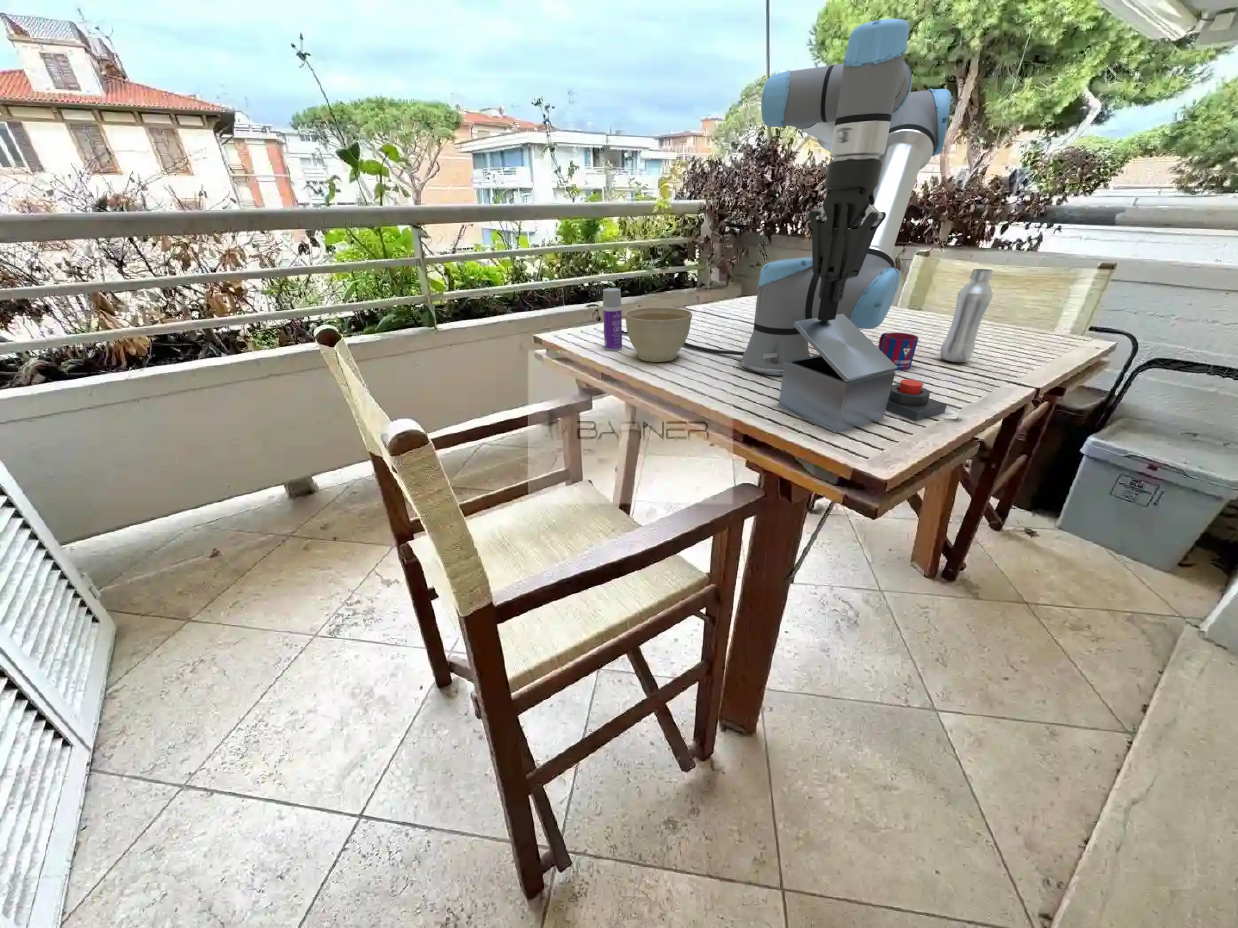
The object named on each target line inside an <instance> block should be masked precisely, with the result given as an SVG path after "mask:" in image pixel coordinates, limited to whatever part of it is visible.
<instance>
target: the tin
mask: <svg viewBox="0 0 1238 928" xmlns="http://www.w3.org/2000/svg"><path fill="white" fill-rule="evenodd" d="M895 376H896V371H892V372H888V373H884V374H880V375H876V376H871V377H867V378H863V379H859V380H855V381H850V382H845V381H844V380H843V379H842V378H841V377H840V376H839V375H838V374H837V373H836V372H835V370H834V369H833V368H832V367H831V366H830V365H829V364H828V363H827V362H826V361H825V360H824V358H823V357H822V356H821V355H820V354H816V355H815V354H814V355H810V357H805V358H800V359H795V360H790V361H785V364H784V371H783V376H781V385H780V392H779V398H778V405H777V406H778V408H780V409H783V410H785V411H787V412H789V413H791V414H793V415H795V416H798V417H800V418H802V419H804V420H806V421H808V422H810V423H812V424H815V425H817V426H819V427H821V428H823V429H825V430H828V431H829V432H831V433H834V434H838V433H841V432H845V431H848V430H852V429H855V428H856V429H857V428H859V427H862V426H866V425H869V424H873V423H875V422H876V423H877V422H879V421H883V420H884V417H885V413H886V411H887V410H886V406H887V402H888V399H889V395H890V391H891V387H892V385H894V379H895Z"/></svg>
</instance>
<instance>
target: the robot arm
mask: <svg viewBox="0 0 1238 928" xmlns="http://www.w3.org/2000/svg"><path fill="white" fill-rule="evenodd" d="M909 32H910V24H909V22H907V21H906V20H905V19H901V18H884V19H883V18H882V19H877V20H872V21H868V22H865V23H862V24H860V25H858V26H856V27H855V28H854V29H853V30H852V31H851V33H850V35H849V36H848V37H849V38H848V42H847V47H846V51H845V56H844V58H843V60H842V63H837V64H831V65H824V66H818V67H810V68H803V69H802V68H801V69H796V70H790V69H788V70H786V71H783V72H779V73H774V74H772V75H770V76H769V77H768V78H767V80H766V81H765V84H764V86H763V90H762V94H761V103H760V109H761V110H760V112H761V119H762V122H763V124H764V125H765V126H766V127H768V128H779V129H781V128H783V127H793V128H796V129H798V130H799V131H801V132H803V133H806V134H807V135H809V136H811V137H813V138H814V139H816V140H817V143H818V144H819V146H820V147H822V149H823V150H826V151H827V152H830V153H829V157H830V158H831V159H833V160H832V161H830V162H829V164H827V169H826V175H825V182H824V189H825V190H826V195H825V197H824V199H823V201H822V205H821V206H820V207H819V208H818V209H817V210H811V211H810V212H809V214H808V218H809V221H810V225H811V243H812V244H811V250H812V251H811V253H812V254H811V255H812V256H804V257H794V258H786V259H779V260H773V261H770V262H767V263H765V264H764V265H763V266H762V267H761V269H760V271H759V272H760V273H759V278H758V283H757V292H756V293H757V294H756V303H755V304H756V305H755V312H754V319H753V320H754V322H753V330H752V334H751V336H750V338H749V340H748V344H747V346H746V349H745V351H739V350H727V349H726V350H723V349H715V348H709V347H706V346H705V347H704V346H700V345H696V344H693V343H688V342H686V341H685V343H684V344H683V346H684V347H687V348H690V349H693V350H698V351H701V352H707V353H713V354H717V355H719V354H721V355H733V356H741V357H742V358H741V366H742V367H743V368H745V370H748V371H750V372H752V373H756V374H760V375H766V376H776V377H778V376H779V377H783V371H784V364H785V361H790V360H795V359H800V358H805V357H810V356H811V355H810V354H809V353H810V351H809V349H810V348H809V342H808V341H807V340H806V339H805V338H804V337H803V336H802V334H801V333H800V332H799V331H798V330H797V329H796V328H795V327H794V326H793V324H794V322H795V321H800V320H806V319H813V318H818V319H817V320H821V321H828V320H834V319H835V318H836V315H838V314H844V315H845V316H846V317H847V318H848V319H849V320H850V321H851V322H852V323H853V324H854V325H855V326H856V327H857V328H858V329H859V330H874V329H876V328H877V327H879V326H880V325H881V324H882V323H883V322H884V320H885V319H886V317H887V315H888V313H889V311H890V309H891V307H892V305H893V303H894V299H895V296H896V293H897V291H898V288H899V285H900V281H901V271H900V270H899V269H897V268H896V261H895V259H894V258H893V256H892V254H893V250H894V247H895V245H896V241H897V238H898V235H899V234H900V233H899V232H900V230H901V226H902V223H903V220H904V217H905V214H906V211H907V208H908V205H909V202H910V198H911V196H912V192H913V191H914V186H915V185H916V181H917V178H918V174H919V172H920V171H921V170H923V169H924V168H925V167H926V166H927V165H928V164H929V163H930V161H931V159H932V157H936V156H938V155H940V154H942V153H943V149H944V145H945V138H946V135H947V134H946V133H947V128H948V119H949V114H950V109H951V102H952V92H951V90H949V89H947V88H937V89H935V88H934V89H933V88H928V89H926V90H919V91H912V83H913V81H912V79H913V77H912V71H911V67H910V66H909V65H908V63H907V62H906V61H905V55H906V52H907V50H908V48H909V46H908V40H909V34H910V33H909ZM624 331H625V330H622V335H628V333H627V332H624Z"/></svg>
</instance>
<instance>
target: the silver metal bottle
mask: <svg viewBox="0 0 1238 928" xmlns="http://www.w3.org/2000/svg"><path fill="white" fill-rule="evenodd" d="M993 272H994V270H993V269H989V268H972V271H971V275H970V276H969V279H970V281H969V282H967V283H966V285H964V286H963V287H962V288H961V289H960V290H959V292H958V293H957V297H956V301H955V302H956V303H955V309H954V314H953V317H952V321H951V325H950V326H949V330H948V332H947V334H946V337H945V339H943V343H942V344H941V347H940V351H939V355H940V358H941V359H942V360H945V361H948V362H952V363H965V362H968V361H969V360H970V359H971V358H972V356H973V355H974V353H975V348H976V347H975V346H976V340H977V335H978V331H979V328H980V325H981V322H982V320H983V318H984V315H985V314H986V311H987V310H988V307H989V305H990V303H991V301H992V299H993V290H992V287H991V285H990V283H989V281H991V280H992V275H993Z"/></svg>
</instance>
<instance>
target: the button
mask: <svg viewBox="0 0 1238 928" xmlns="http://www.w3.org/2000/svg"><path fill="white" fill-rule="evenodd" d="M899 384H900V385H899V389H898V391H900V392H903V393H908V394H920V393H921V390H922V387H923V386H924V383H923V382H922V381H919V380H915V379H908V378H907V379H901V380H900V381H899ZM923 388H924V387H923Z"/></svg>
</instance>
